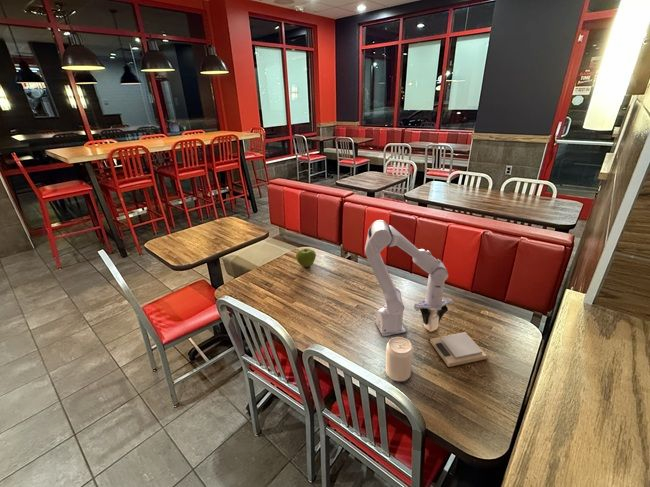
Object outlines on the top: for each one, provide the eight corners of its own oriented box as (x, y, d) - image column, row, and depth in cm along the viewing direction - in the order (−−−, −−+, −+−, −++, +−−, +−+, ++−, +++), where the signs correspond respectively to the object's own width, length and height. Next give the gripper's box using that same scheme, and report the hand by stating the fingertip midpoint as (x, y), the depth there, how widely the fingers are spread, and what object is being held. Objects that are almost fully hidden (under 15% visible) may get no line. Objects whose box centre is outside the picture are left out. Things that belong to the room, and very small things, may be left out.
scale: (448, 367, 103) (449, 361, 102) (430, 342, 114) (430, 336, 112) (485, 359, 105) (487, 353, 104) (464, 335, 116) (465, 329, 115)
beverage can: (382, 364, 105) (383, 336, 100) (406, 361, 106) (408, 334, 101) (389, 384, 98) (390, 355, 93) (414, 381, 98) (417, 352, 93)
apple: (294, 270, 166) (293, 253, 162) (299, 260, 176) (297, 244, 171) (314, 270, 164) (313, 254, 160) (318, 261, 174) (317, 245, 170)
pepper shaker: (430, 332, 118) (433, 312, 114) (422, 326, 121) (425, 306, 117) (438, 329, 120) (441, 309, 116) (430, 323, 123) (433, 303, 119)
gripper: (421, 301, 109) (418, 332, 114) (459, 295, 111) (454, 325, 117) (412, 290, 115) (410, 320, 121) (448, 284, 117) (444, 313, 123)
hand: (431, 321), depth 119 cm, fingers closed on pepper shaker, 4 cm apart
